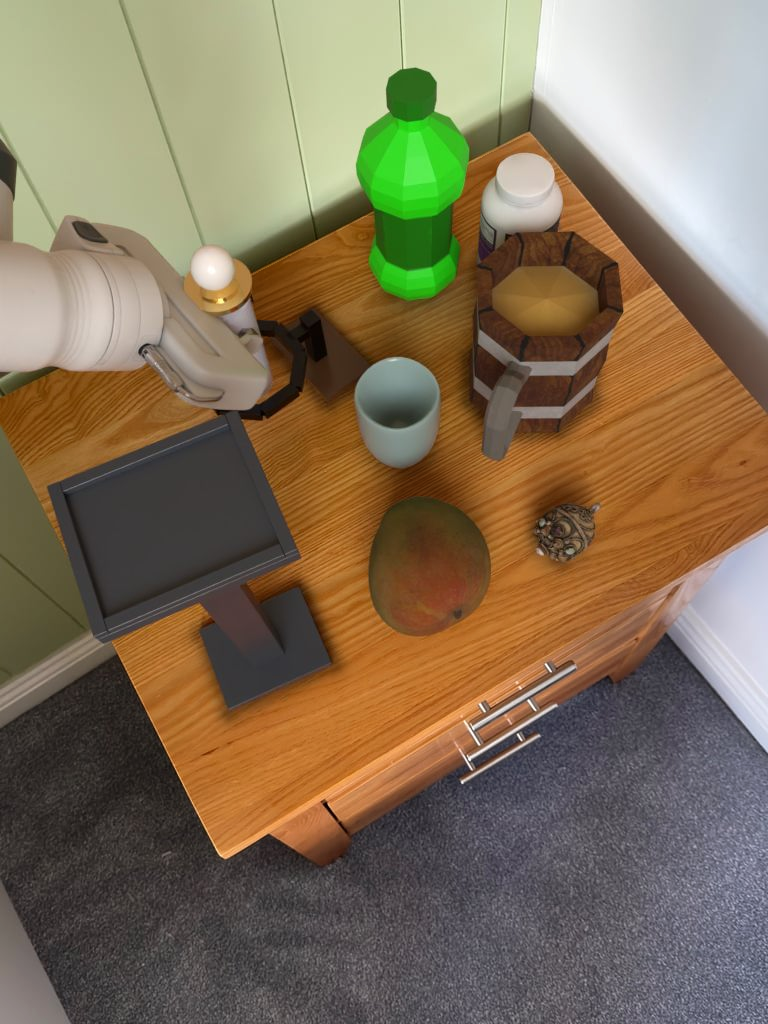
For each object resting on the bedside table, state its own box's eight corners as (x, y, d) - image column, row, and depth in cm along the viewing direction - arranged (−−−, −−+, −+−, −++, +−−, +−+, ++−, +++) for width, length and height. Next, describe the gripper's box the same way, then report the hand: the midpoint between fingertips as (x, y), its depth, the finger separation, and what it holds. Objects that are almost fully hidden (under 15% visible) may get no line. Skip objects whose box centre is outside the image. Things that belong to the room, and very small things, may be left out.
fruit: (402, 666, 75) (398, 638, 66) (338, 553, 80) (327, 513, 71) (511, 605, 77) (523, 570, 68) (443, 498, 82) (445, 452, 73)
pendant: (517, 543, 80) (522, 523, 75) (575, 496, 81) (584, 473, 77) (553, 581, 78) (561, 563, 73) (612, 532, 80) (624, 512, 75)
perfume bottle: (280, 408, 84) (243, 279, 65) (223, 412, 84) (170, 284, 65) (279, 359, 86) (243, 221, 67) (224, 363, 86) (172, 226, 67)
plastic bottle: (433, 229, 95) (436, 26, 72) (477, 297, 91) (494, 105, 68) (354, 262, 94) (331, 66, 71) (394, 332, 90) (384, 148, 67)
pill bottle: (561, 263, 92) (584, 161, 79) (526, 314, 90) (544, 219, 77) (497, 234, 94) (509, 130, 81) (462, 283, 92) (467, 185, 79)
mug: (491, 310, 90) (503, 210, 76) (612, 349, 88) (646, 252, 74) (421, 460, 84) (420, 380, 70) (550, 507, 81) (575, 434, 67)
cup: (346, 446, 85) (336, 396, 75) (398, 397, 87) (394, 341, 77) (402, 493, 82) (399, 446, 73) (454, 441, 84) (458, 389, 75)
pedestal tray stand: (223, 726, 74) (93, 637, 45) (187, 627, 78) (46, 485, 49) (347, 670, 76) (297, 549, 47) (306, 575, 79) (236, 408, 50)
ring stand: (249, 465, 84) (234, 430, 77) (190, 395, 88) (170, 356, 81) (375, 374, 88) (370, 332, 81) (313, 310, 91) (303, 266, 84)
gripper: (202, 368, 59) (324, 367, 70) (56, 201, 66) (188, 224, 77) (167, 434, 62) (289, 423, 73) (31, 268, 69) (162, 281, 80)
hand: (236, 320), depth 75 cm, fingers closed on perfume bottle, 4 cm apart
